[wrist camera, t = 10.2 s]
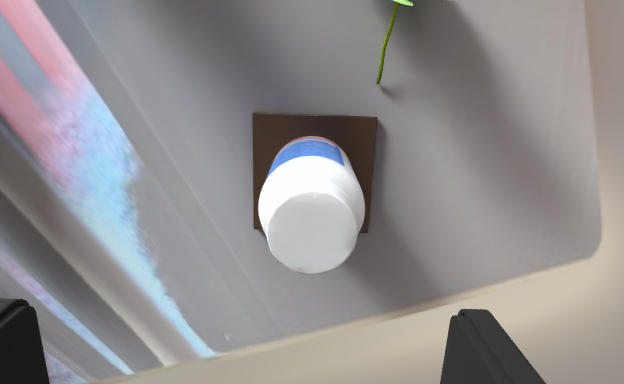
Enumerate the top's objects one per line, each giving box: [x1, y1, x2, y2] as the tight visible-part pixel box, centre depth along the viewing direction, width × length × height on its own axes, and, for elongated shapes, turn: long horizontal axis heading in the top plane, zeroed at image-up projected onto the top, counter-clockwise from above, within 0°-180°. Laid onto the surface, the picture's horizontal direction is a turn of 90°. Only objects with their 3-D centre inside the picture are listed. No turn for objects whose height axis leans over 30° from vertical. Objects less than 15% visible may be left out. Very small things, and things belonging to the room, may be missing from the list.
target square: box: [253, 112, 377, 233], centre depth 26 cm, size 8×8×1 cm
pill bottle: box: [258, 136, 365, 274], centre depth 21 cm, size 6×5×10 cm
